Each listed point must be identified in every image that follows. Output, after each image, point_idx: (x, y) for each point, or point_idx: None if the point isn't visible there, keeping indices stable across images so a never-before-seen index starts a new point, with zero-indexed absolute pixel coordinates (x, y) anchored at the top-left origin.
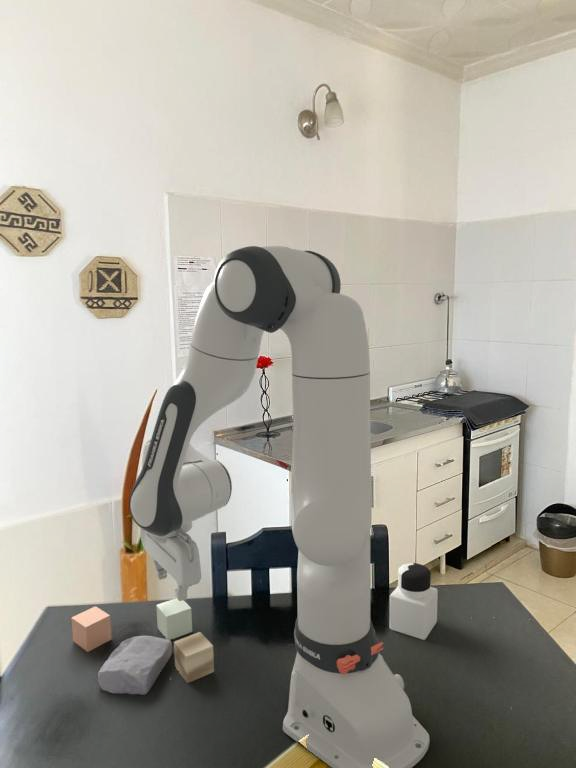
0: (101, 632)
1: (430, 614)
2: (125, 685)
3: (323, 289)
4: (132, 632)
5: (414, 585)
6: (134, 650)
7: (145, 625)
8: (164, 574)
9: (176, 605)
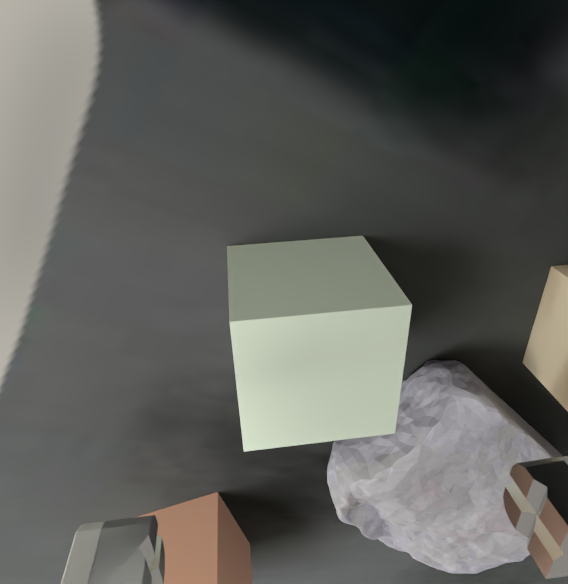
0: (232, 559)
1: None
2: None
3: None
4: (213, 436)
5: None
6: (443, 509)
7: (187, 391)
8: (148, 558)
9: (321, 368)
